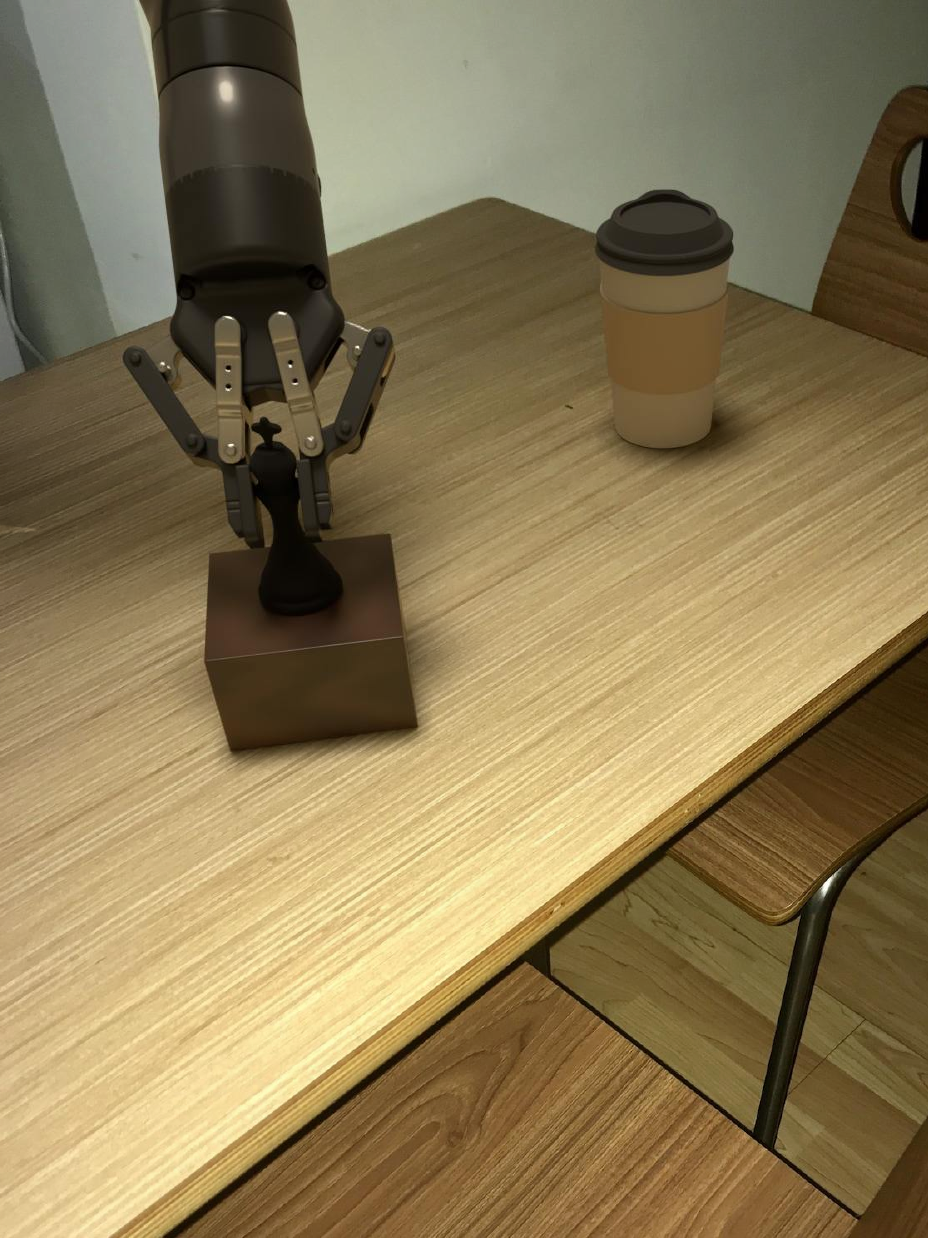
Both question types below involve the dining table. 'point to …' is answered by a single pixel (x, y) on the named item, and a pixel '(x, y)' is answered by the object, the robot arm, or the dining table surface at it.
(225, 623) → the brown metal block
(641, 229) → the coffee cup
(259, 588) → the chess piece
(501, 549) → the dining table surface
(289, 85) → the robot arm
